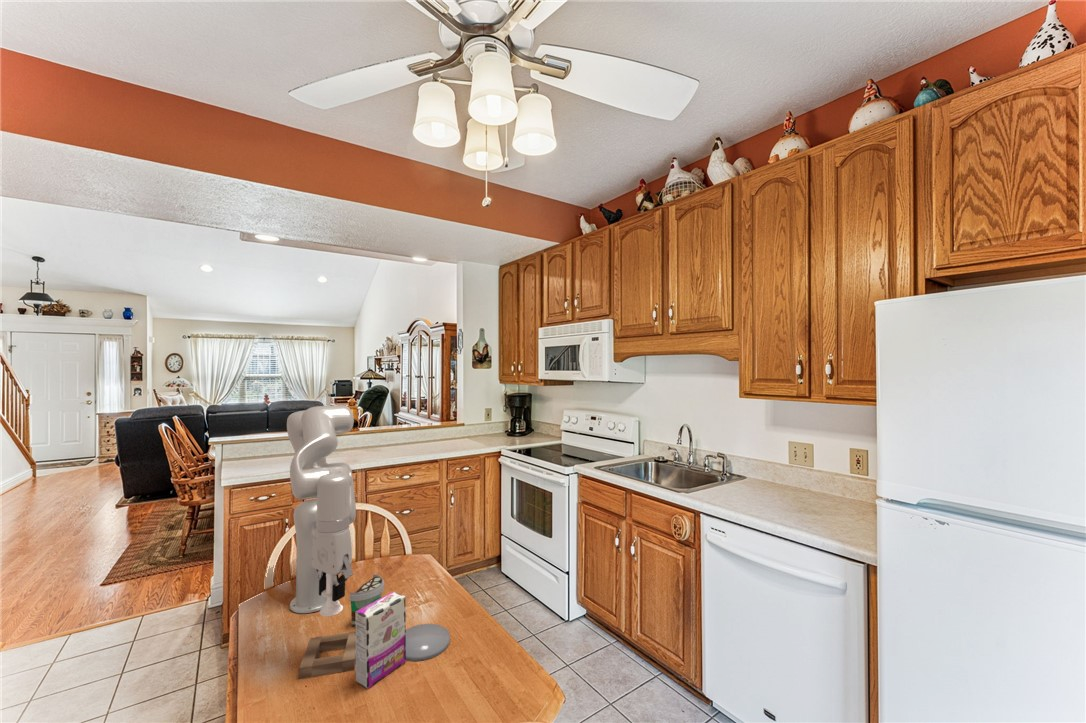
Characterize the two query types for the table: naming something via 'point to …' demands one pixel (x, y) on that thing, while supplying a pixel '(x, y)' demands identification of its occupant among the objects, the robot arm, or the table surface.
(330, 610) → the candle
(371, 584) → the food container
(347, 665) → the walnut socket
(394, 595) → the candy bar box
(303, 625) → the table surface
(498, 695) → the table surface
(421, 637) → the slate plate
